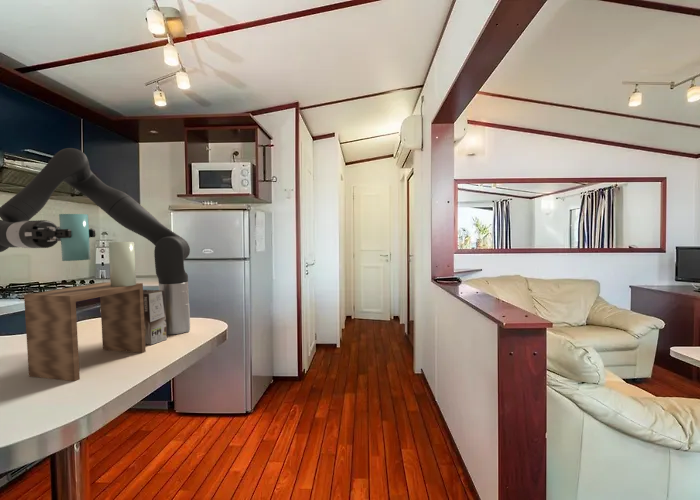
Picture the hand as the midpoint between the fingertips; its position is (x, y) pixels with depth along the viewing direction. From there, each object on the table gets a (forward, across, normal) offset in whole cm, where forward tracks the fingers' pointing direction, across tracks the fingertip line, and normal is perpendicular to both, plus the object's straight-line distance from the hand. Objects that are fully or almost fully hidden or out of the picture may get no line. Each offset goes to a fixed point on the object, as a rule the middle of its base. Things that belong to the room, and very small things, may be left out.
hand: (82, 233), depth 93 cm
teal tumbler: (-2, 0, +7) cm, 7 cm away
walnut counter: (+1, 0, +35) cm, 35 cm away
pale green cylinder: (+6, +6, +15) cm, 17 cm away
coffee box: (+1, +19, +35) cm, 40 cm away
